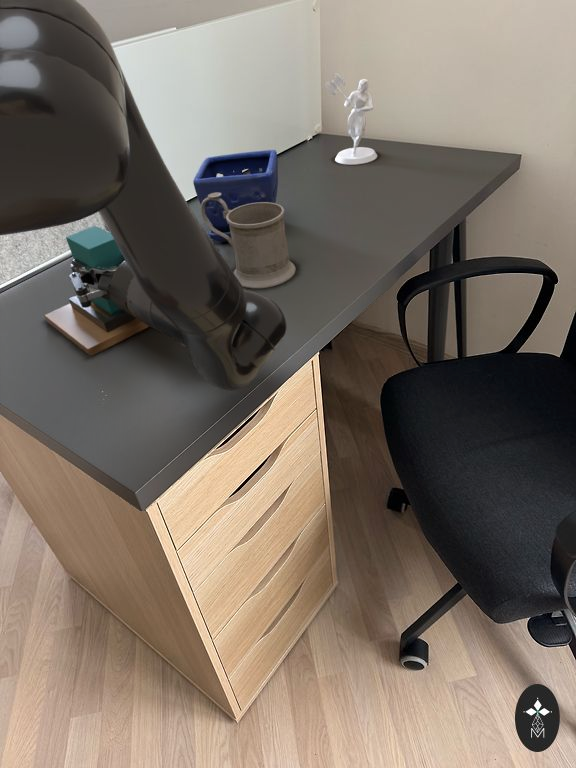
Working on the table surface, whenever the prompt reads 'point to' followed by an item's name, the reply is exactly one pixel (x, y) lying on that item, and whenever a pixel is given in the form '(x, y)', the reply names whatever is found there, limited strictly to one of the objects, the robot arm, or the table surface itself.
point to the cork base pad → (93, 325)
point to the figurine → (355, 122)
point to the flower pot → (236, 184)
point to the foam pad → (96, 256)
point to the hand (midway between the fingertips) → (92, 259)
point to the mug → (256, 242)
